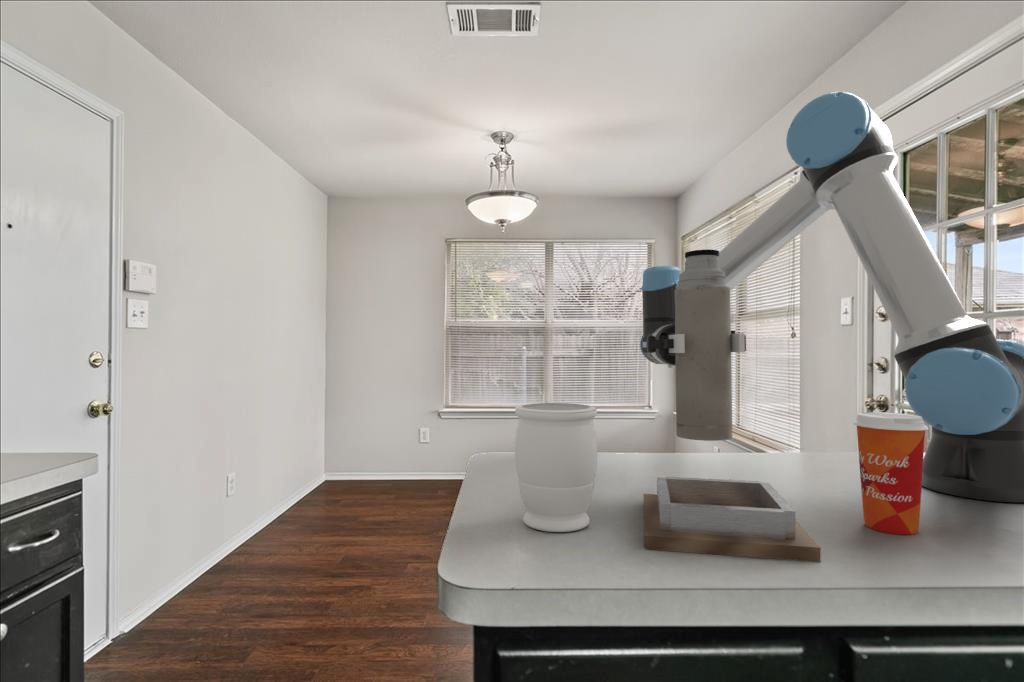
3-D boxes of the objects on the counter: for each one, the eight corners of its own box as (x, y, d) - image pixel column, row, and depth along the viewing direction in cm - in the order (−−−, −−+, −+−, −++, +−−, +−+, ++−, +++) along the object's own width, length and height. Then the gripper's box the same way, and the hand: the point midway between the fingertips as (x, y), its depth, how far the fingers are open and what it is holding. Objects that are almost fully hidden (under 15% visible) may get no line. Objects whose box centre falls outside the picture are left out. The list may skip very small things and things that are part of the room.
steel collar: (767, 504, 75) (767, 481, 75) (797, 540, 61) (796, 512, 61) (656, 497, 78) (656, 476, 78) (660, 531, 64) (660, 504, 64)
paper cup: (840, 522, 72) (839, 413, 72) (880, 515, 75) (879, 410, 75) (904, 542, 65) (903, 420, 65) (945, 533, 68) (943, 417, 68)
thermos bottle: (672, 432, 89) (669, 256, 89) (723, 432, 88) (721, 254, 88) (682, 440, 81) (679, 247, 81) (739, 441, 80) (736, 245, 80)
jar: (604, 515, 75) (603, 403, 75) (589, 540, 65) (588, 412, 66) (528, 508, 79) (528, 401, 79) (503, 531, 69) (503, 409, 69)
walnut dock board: (779, 512, 76) (779, 501, 76) (820, 562, 59) (820, 547, 59) (643, 504, 80) (643, 493, 80) (644, 548, 63) (644, 535, 63)
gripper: (731, 364, 102) (786, 368, 79) (617, 365, 103) (639, 370, 80) (730, 323, 102) (785, 315, 79) (617, 325, 103) (638, 317, 80)
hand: (711, 343), depth 80 cm, fingers closed on thermos bottle, 8 cm apart
